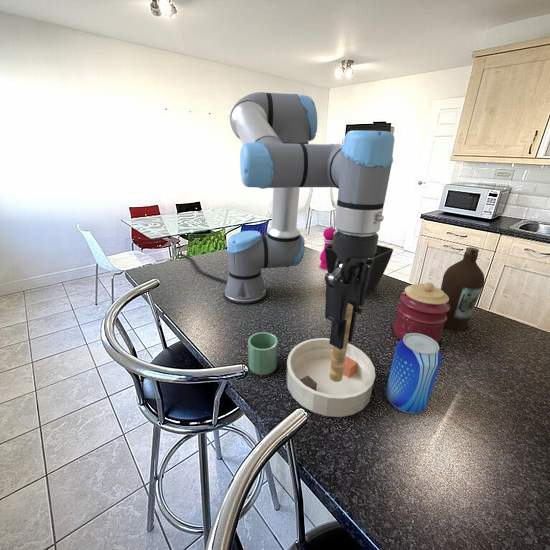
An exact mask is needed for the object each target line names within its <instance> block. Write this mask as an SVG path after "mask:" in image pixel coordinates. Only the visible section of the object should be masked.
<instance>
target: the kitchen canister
mask: <svg viewBox="0 0 550 550" xmlns="http://www.w3.org/2000/svg"><path fill="white" fill-rule="evenodd" d="M399 300H400V302H399V303H398V304H397V311H396V314H395V319H394V322H393V326H392V331H393V334H394V336H396V338H397V339H398V340H399V341H401V340H402V339H403V338H404V336H405V335H406V334H409V333H418V334H423V335H426V336H428V337H430V338H432V339H433V340H435V341H436V342H437V343H438V344H439V343H440V341H441V340H442V333H443V331H444V328H445V327H444V324H445V321H446V320H447V315H446V312H448V311H449V310H450V305H449V303H448V301H449V297H448V295H447V294H445V293H444V292H443V291H442V290H441V288H439V287H438V286H436V285H435V286H434V283H432V282H430V281H425V282H424V283H413V284H410V285H408V286H406V287H405V288H404V291H403V292H402V293H400V294H399Z"/></svg>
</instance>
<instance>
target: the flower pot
mask: <svg viewBox="0 0 550 550" xmlns="http://www.w3.org/2000/svg"><path fill="white" fill-rule="evenodd" d="M332 245H333V244H332ZM332 245H329V246H326V247H325V256H326V264H327V269H326V270H327V273H329V274H332V273H333V271H334V270H335V264H336V261H337V258H338V257H337V254H336V253H335V252H334V251H333V249H332ZM393 251H394V248H392V247H387V246H385V245H384V246H383V245H379V244H377V249H376V253H375V255H374V256H372V257H370V259H373V260H374V264H373V267H372V269H371V273H370V277H369V282H368V286H367V291H366V294H369V293H370V292H372V291H373V290H374V289H376V287H377V286H378V285H379V283H380V281H381V279H382V278H383V276H384V273H385V271H386V270H387V267H388V266H389V265H388V264H389V263H390V260H391V257H392V255H393Z"/></svg>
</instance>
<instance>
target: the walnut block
mask: <svg viewBox="0 0 550 550" xmlns="http://www.w3.org/2000/svg"><path fill="white" fill-rule="evenodd" d="M300 381H301V382H302V383H303V384H304V385H306V386H307V387H309V388H311V389H313V390H315V391H316V388H317V383H316V382H315V381H314V380H313V379H312V378H310V377H309V376H306V377H304V378H302V379H300Z"/></svg>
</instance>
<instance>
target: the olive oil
mask: <svg viewBox="0 0 550 550" xmlns="http://www.w3.org/2000/svg"><path fill="white" fill-rule="evenodd" d="M479 252H480V249H478V248H477V247H476V248H475V247H472V246H470V247H468V246H467V247H466V248H465V252H464V254H463V256H462V259H461V260H459V261H457V262H455V263H454V264H451V265H450V266H449V267H448V268H447V269H446V270H445V271H444V274H443V276H442V280H441V281H442V282H441V286H440V289H441V290H442V291H443V292H444V293H445V294H447V295H448V297H449V301H448V303H449V305H450V310H449V311H448V312H446V315H447V320H446V321H445V324H444V327H443V328H447V329H450V330H456V331H457V330H458V331H461V330H465V329H466V328H467V327H468V324H469V322H470V319H471V317H473V315H474V313H475V311H474V310H475V307H476V305H477V302H478V300H479V297H480V295H481V293H482V291H483V288H484V285H485V273H484V272H483V271H482V269H481V268H480V266H479V265H478V263H477V259H478V257H479Z"/></svg>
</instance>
